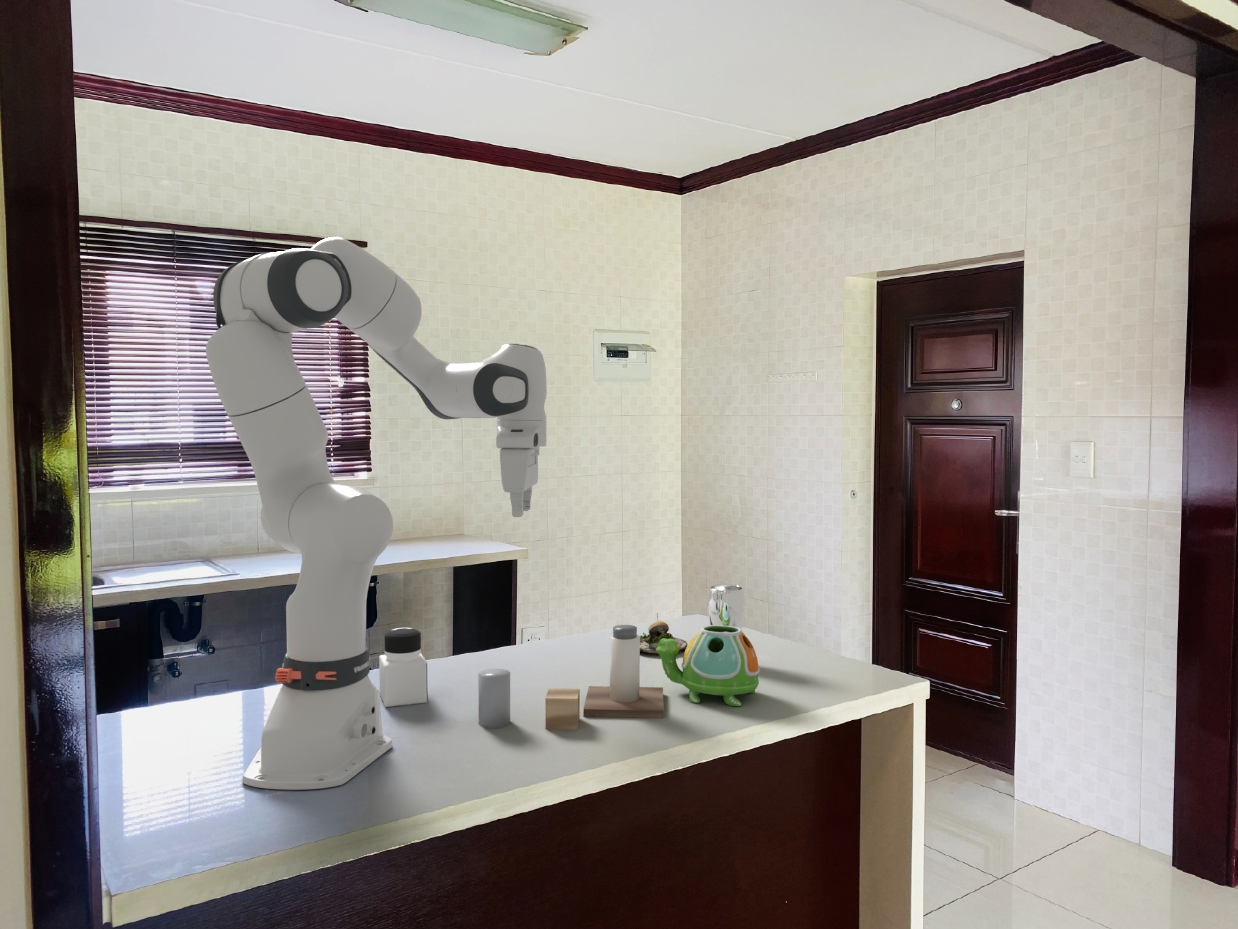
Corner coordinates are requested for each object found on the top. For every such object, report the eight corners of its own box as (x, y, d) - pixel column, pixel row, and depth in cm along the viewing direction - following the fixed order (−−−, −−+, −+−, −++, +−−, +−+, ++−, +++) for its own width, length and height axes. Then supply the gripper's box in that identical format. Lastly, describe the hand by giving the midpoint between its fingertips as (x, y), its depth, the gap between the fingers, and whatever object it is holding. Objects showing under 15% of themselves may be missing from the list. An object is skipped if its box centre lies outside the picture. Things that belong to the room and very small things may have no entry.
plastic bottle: (639, 703, 150) (639, 631, 149) (609, 702, 150) (609, 631, 150) (639, 693, 155) (640, 624, 154) (610, 692, 155) (610, 623, 155)
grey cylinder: (507, 728, 142) (507, 678, 141) (475, 728, 142) (475, 677, 141) (512, 717, 147) (512, 669, 146) (481, 717, 147) (481, 668, 146)
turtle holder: (666, 679, 167) (666, 615, 167) (764, 689, 162) (765, 623, 161) (647, 700, 156) (648, 631, 155) (752, 711, 150) (753, 640, 149)
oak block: (577, 730, 141) (577, 698, 141) (545, 729, 141) (545, 698, 141) (579, 719, 146) (579, 688, 146) (548, 718, 146) (548, 688, 146)
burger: (624, 656, 183) (624, 620, 183) (636, 642, 195) (637, 607, 194) (683, 661, 180) (683, 624, 180) (692, 645, 192) (692, 611, 191)
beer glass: (704, 666, 176) (705, 589, 175) (711, 656, 182) (712, 583, 181) (740, 669, 174) (741, 592, 173) (746, 659, 180) (747, 585, 179)
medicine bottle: (427, 703, 153) (427, 633, 153) (384, 708, 151) (383, 637, 150) (420, 690, 160) (420, 623, 159) (379, 695, 157) (378, 627, 157)
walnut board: (663, 717, 147) (663, 710, 147) (583, 716, 147) (583, 709, 147) (662, 694, 159) (662, 687, 159) (588, 693, 159) (588, 686, 159)
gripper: (512, 434, 172) (512, 507, 173) (494, 438, 152) (494, 520, 153) (545, 434, 172) (545, 507, 173) (531, 438, 152) (531, 520, 152)
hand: (521, 513), depth 163 cm, fingers open, 8 cm apart
